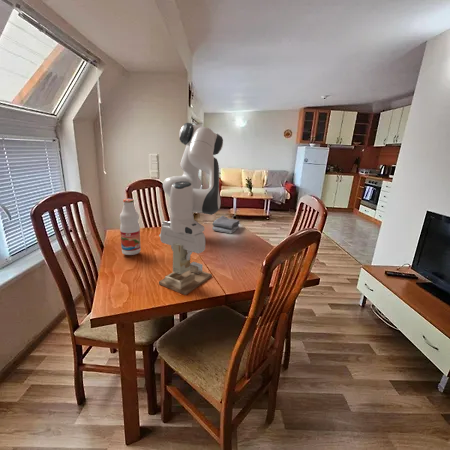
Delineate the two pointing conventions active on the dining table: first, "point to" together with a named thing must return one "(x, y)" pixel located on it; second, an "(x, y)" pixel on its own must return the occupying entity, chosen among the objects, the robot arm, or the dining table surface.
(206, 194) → the robot arm
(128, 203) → the fruit juice
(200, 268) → the block
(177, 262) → the skincare box
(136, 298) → the dining table surface
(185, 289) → the base
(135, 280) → the dining table surface
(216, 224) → the towel
